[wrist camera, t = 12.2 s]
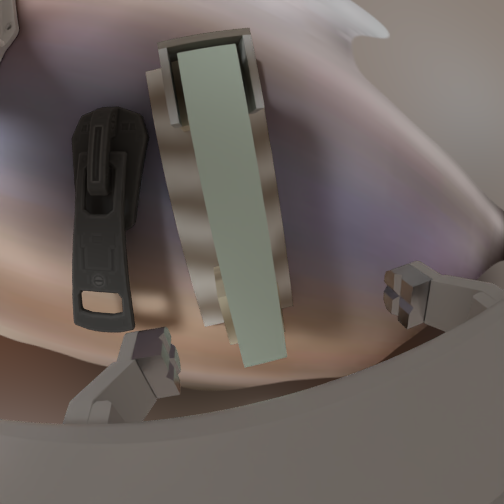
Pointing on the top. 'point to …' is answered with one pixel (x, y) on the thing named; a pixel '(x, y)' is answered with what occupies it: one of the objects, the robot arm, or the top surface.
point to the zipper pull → (105, 209)
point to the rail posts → (188, 180)
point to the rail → (233, 197)
